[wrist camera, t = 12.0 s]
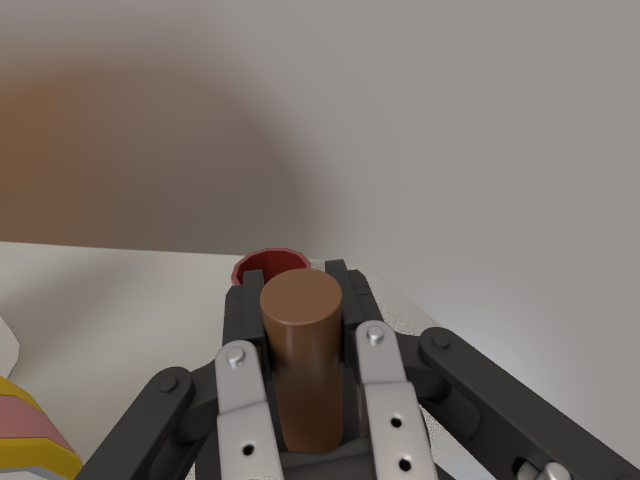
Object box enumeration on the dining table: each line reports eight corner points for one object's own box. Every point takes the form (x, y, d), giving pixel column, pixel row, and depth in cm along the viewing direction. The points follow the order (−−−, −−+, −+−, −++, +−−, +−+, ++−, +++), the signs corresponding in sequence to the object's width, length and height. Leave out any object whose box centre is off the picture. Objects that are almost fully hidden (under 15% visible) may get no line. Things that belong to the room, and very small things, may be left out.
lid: (456, 398, 18) (497, 254, 13) (370, 676, 10) (393, 586, 6) (286, 324, 22) (270, 196, 17) (145, 484, 15) (52, 342, 10)
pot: (326, 303, 48) (324, 260, 44) (285, 352, 42) (280, 307, 38) (270, 281, 52) (264, 240, 48) (225, 323, 46) (215, 280, 42)
